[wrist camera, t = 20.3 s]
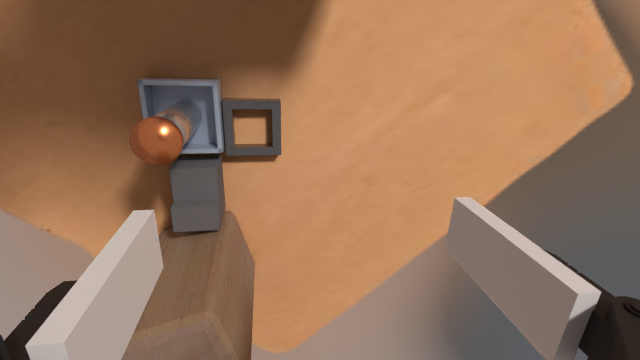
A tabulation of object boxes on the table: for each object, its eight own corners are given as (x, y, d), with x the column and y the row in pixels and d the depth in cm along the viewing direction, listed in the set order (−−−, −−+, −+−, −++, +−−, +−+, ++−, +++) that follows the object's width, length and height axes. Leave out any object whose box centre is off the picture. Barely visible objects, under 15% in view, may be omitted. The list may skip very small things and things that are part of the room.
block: (257, 265, 49) (253, 397, 30) (190, 286, 48) (144, 433, 30) (232, 206, 45) (211, 316, 26) (159, 228, 44) (85, 357, 26)
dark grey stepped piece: (179, 155, 41) (165, 174, 35) (221, 155, 42) (214, 172, 36) (185, 207, 44) (173, 232, 38) (225, 205, 45) (219, 229, 39)
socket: (223, 98, 39) (222, 100, 38) (279, 98, 40) (280, 100, 39) (227, 152, 42) (226, 155, 40) (280, 151, 43) (281, 154, 41)
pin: (170, 133, 39) (134, 165, 28) (165, 98, 38) (125, 118, 27) (205, 132, 40) (183, 164, 29) (202, 98, 39) (177, 118, 27)
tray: (146, 77, 37) (136, 79, 35) (220, 78, 39) (217, 81, 36) (156, 146, 40) (148, 154, 38) (225, 146, 42) (222, 153, 39)
